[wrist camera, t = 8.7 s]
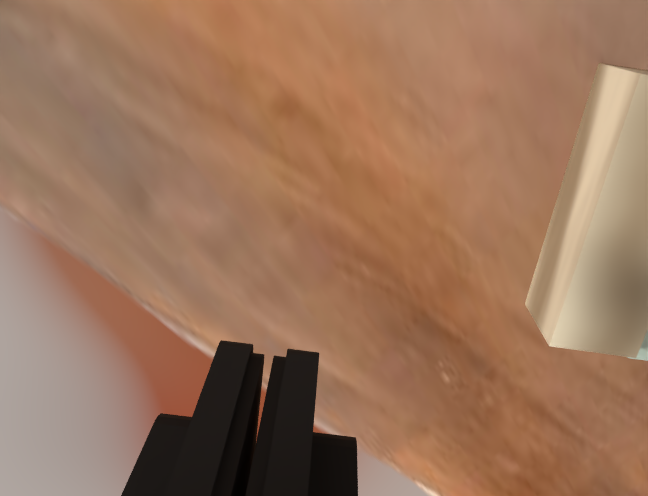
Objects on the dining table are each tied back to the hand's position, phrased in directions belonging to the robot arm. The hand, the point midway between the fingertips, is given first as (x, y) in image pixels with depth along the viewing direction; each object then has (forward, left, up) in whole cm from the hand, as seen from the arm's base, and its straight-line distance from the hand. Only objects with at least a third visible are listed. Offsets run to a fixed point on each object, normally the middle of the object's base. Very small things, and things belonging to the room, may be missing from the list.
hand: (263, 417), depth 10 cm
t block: (+1, +18, -19) cm, 26 cm away
